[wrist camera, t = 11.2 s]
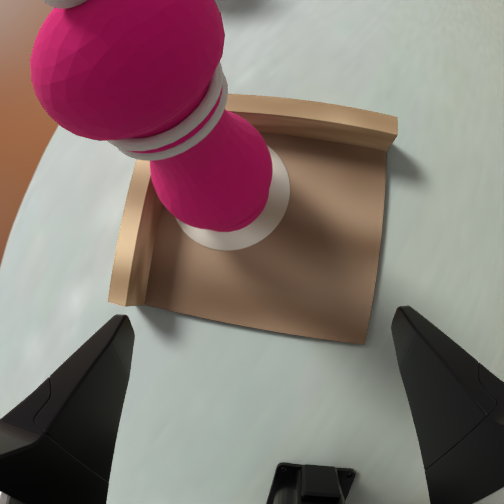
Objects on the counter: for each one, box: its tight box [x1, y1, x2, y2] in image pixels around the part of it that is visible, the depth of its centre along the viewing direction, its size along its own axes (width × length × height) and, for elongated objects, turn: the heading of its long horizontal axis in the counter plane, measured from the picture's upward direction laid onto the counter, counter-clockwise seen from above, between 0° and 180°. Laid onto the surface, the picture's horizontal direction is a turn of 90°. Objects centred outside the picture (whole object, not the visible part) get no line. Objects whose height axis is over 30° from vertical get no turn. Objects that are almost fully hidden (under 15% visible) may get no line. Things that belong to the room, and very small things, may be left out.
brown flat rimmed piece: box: [108, 94, 398, 345], centre depth 21 cm, size 16×18×4 cm
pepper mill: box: [30, 0, 273, 232], centre depth 13 cm, size 7×7×20 cm
